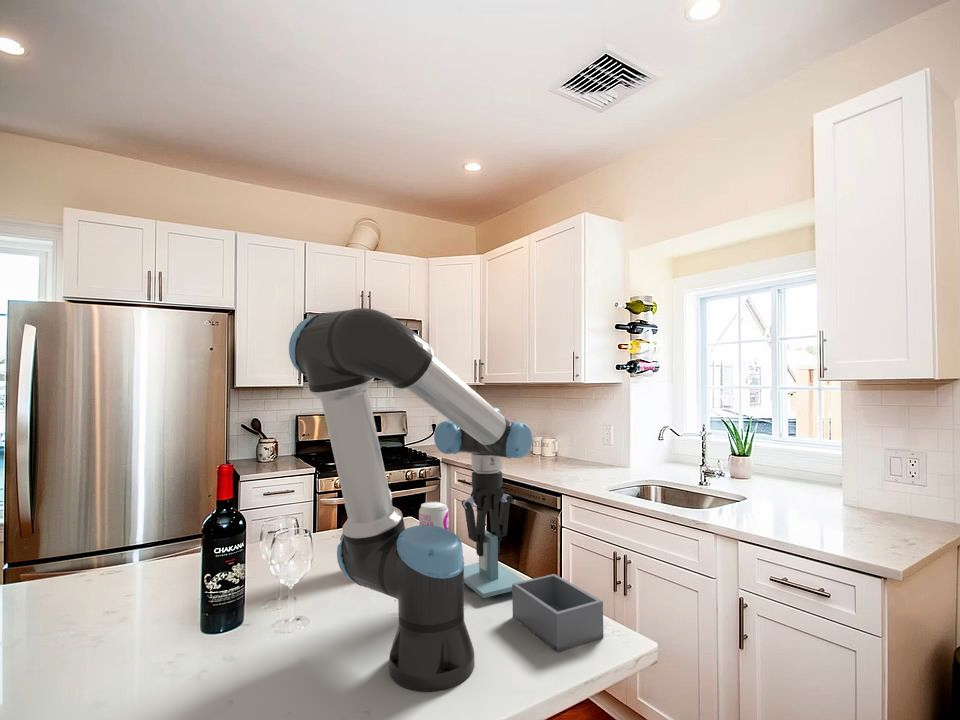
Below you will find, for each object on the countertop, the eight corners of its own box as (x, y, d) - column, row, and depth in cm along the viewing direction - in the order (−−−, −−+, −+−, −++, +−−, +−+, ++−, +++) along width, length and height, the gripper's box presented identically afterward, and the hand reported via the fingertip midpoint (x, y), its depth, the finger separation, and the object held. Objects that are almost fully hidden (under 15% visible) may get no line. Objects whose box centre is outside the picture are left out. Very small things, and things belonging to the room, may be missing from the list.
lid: (528, 587, 123) (527, 539, 123) (483, 598, 117) (482, 548, 117) (493, 563, 138) (492, 521, 138) (451, 572, 132) (451, 529, 132)
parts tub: (603, 637, 102) (602, 601, 102) (557, 652, 97) (556, 614, 97) (555, 605, 116) (554, 573, 116) (512, 617, 111) (512, 583, 111)
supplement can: (451, 553, 150) (450, 501, 151) (446, 564, 142) (445, 508, 142) (423, 552, 151) (422, 500, 151) (417, 563, 143) (416, 508, 143)
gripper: (466, 476, 121) (467, 578, 121) (521, 470, 128) (522, 566, 128) (452, 471, 128) (453, 568, 127) (505, 465, 135) (507, 557, 134)
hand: (488, 567), depth 127 cm, fingers closed on lid, 2 cm apart
